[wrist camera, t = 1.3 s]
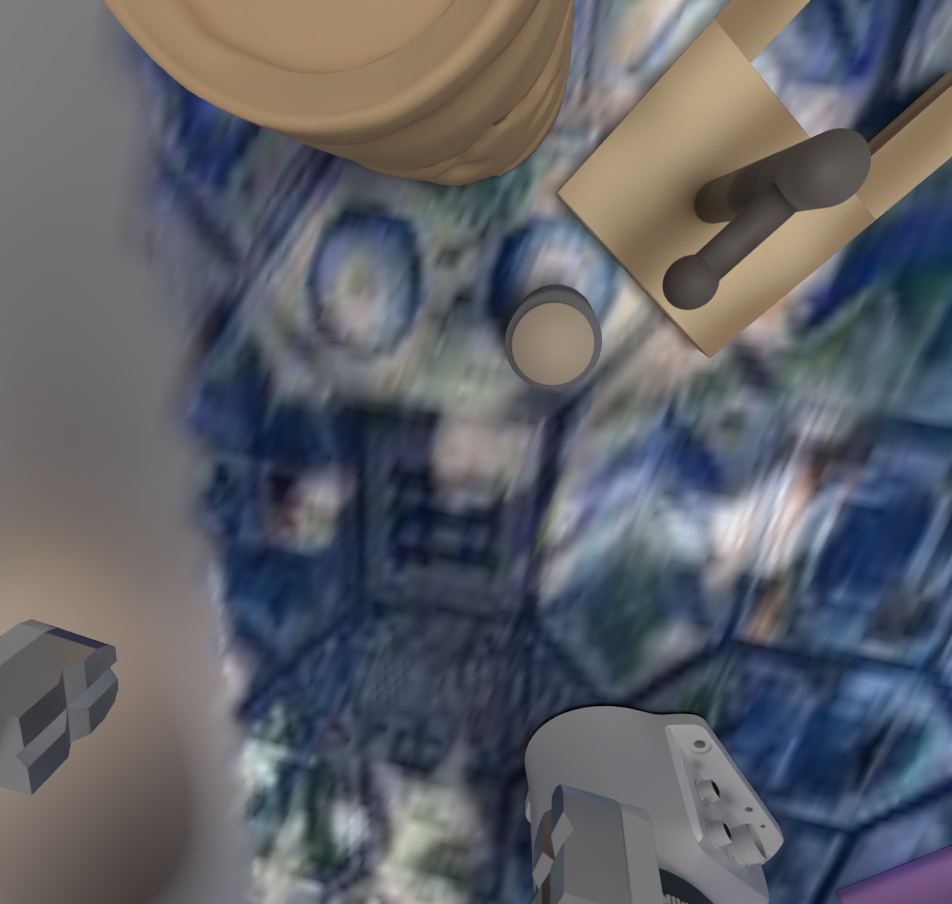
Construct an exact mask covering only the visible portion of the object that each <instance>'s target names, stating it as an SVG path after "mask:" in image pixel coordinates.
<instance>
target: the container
mask: <svg viewBox="0 0 952 904" xmlns="http://www.w3.org/2000/svg"><path fill="white" fill-rule="evenodd" d="M104 2H105V3H106V5H107V6H108V8H109V9H110V10H111V12H112V13H113V14H114V15H115V17H116V18H117V19H118V21H119V22H120V23H121V25H122V26H123V27H124V28H125V29H126V31H127V32H128V33H129V34H130V35H131V36H132V37H133V38H134V40H135V41H136V42H137V43H138V44H139V45H140V46H141V47H142V48H143V49H144V51H145V52H146V53H147V54H148V55H149V56H150V57H151V58H152V59H153V60H154V61H155V62H156V63H157V64H158V65H160V66H161V67H162V68H163V69H164V70H165V71H166V72H167V73H168V74H169V75H170V76H172V77H173V78H174V79H175V80H177V81H178V82H179V83H180V84H182V85H183V86H184V87H185V88H186V89H188V90H189V91H191V92H192V93H194V94H196V95H197V96H199V97H200V98H202V99H204V100H206V101H208V102H210V103H211V104H213V105H215V106H217V107H219V108H220V109H222V110H224V111H226V112H228V113H231V114H233V115H235V116H237V117H239V118H242V119H244V120H246V121H248V122H251V123H253V124H256V125H258V126H261V127H264V128H266V129H269V130H272V131H274V132H277V133H280V134H283V135H285V136H287V137H289V138H291V139H294V140H296V141H298V142H300V143H303V144H306V145H308V146H311V147H313V148H316V149H319V150H321V151H324V152H327V153H330V154H333V155H336V156H339V157H342V158H346V159H349V160H352V161H355V162H357V163H359V164H360V165H362V166H363V167H366V168H368V169H370V170H373V171H375V172H378V173H380V174H383V175H387V176H390V177H396V178H403V179H410V180H420V181H426V182H432V183H436V184H441V185H447V186H462V185H466V184H470V183H473V182H476V181H480V180H483V179H486V178H488V177H491V176H498V177H499V176H501V175H503V174H505V173H507V172H509V171H511V170H512V169H514V168H516V167H518V166H519V165H520V164H521V163H523V162H524V161H525V160H526V159H527V158H528V157H529V156H530V155H531V154H532V153H533V152H534V151H535V150H536V149H537V148H538V146H539V145H540V144H541V143H542V141H543V140H544V138H545V137H546V135H547V134H548V132H549V130H550V129H551V127H552V125H553V123H554V121H555V120H556V117H557V115H558V113H559V110H560V106H561V102H562V99H563V95H564V92H565V89H566V85H567V79H568V73H569V68H570V61H571V51H572V36H573V19H574V0H104Z"/></svg>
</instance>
